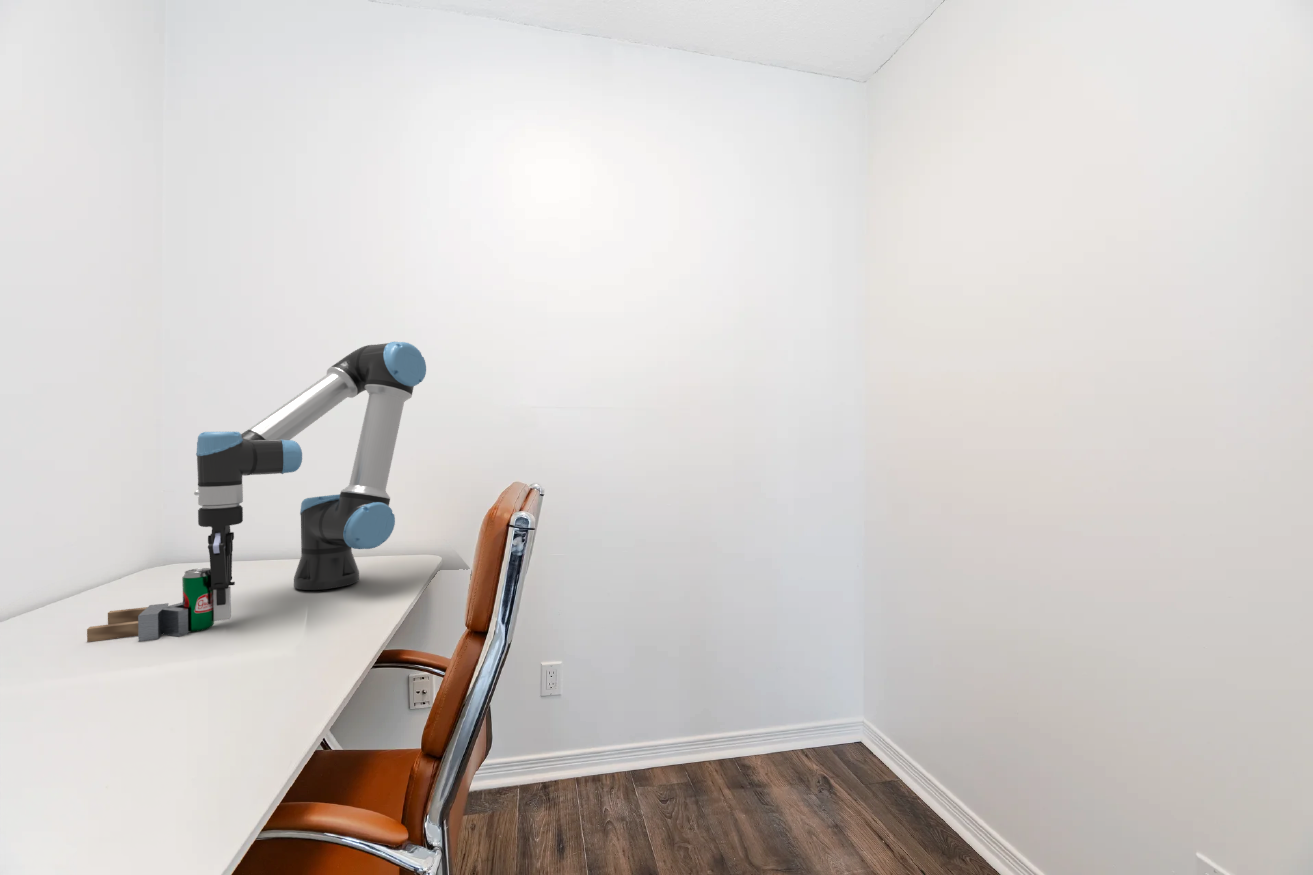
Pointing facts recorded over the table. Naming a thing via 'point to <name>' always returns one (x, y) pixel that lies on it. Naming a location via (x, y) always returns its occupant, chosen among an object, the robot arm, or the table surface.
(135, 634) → the channel
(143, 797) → the table surface
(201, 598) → the soda can
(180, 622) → the v block
